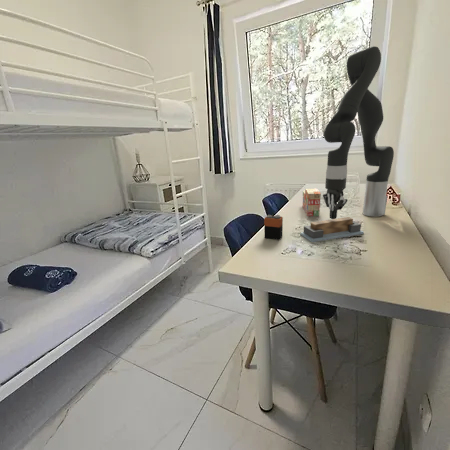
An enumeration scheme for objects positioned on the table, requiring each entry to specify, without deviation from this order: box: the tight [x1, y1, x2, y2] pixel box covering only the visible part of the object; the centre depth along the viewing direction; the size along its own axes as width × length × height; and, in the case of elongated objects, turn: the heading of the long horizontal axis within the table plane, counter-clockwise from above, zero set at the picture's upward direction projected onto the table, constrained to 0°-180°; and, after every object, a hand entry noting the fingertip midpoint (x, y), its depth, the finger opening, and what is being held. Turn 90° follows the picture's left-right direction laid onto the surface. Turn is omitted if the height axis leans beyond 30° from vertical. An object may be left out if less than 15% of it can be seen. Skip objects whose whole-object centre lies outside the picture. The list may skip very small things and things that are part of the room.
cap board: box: [300, 220, 364, 243], centre depth 107 cm, size 24×9×4 cm, turn 103°
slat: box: [310, 216, 354, 235], centre depth 106 cm, size 18×3×5 cm, turn 103°
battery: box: [263, 214, 284, 241], centre depth 106 cm, size 4×7×10 cm, turn 63°
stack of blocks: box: [302, 188, 322, 217], centre depth 141 cm, size 21×6×12 cm, turn 170°
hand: (332, 218), depth 105 cm, fingers closed
